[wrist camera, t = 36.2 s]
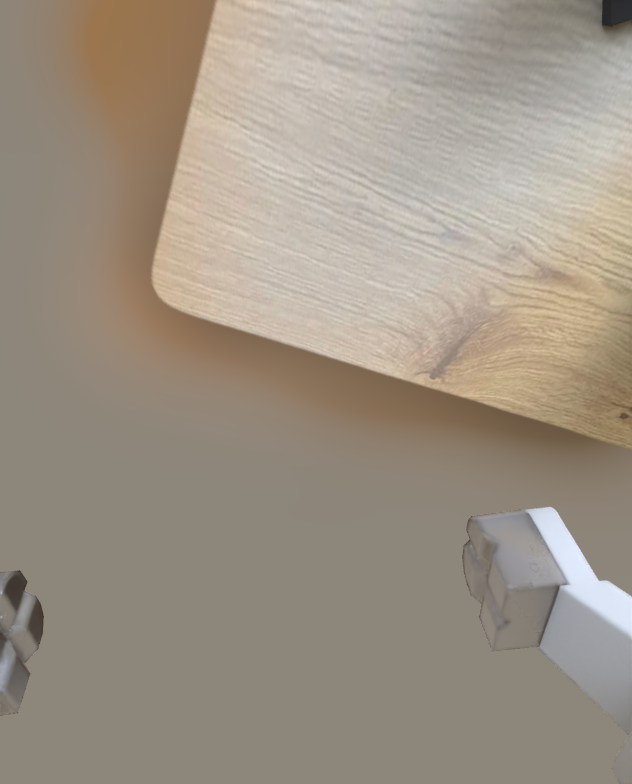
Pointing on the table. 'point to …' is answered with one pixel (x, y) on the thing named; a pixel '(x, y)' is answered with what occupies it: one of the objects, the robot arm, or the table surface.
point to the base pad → (616, 11)
